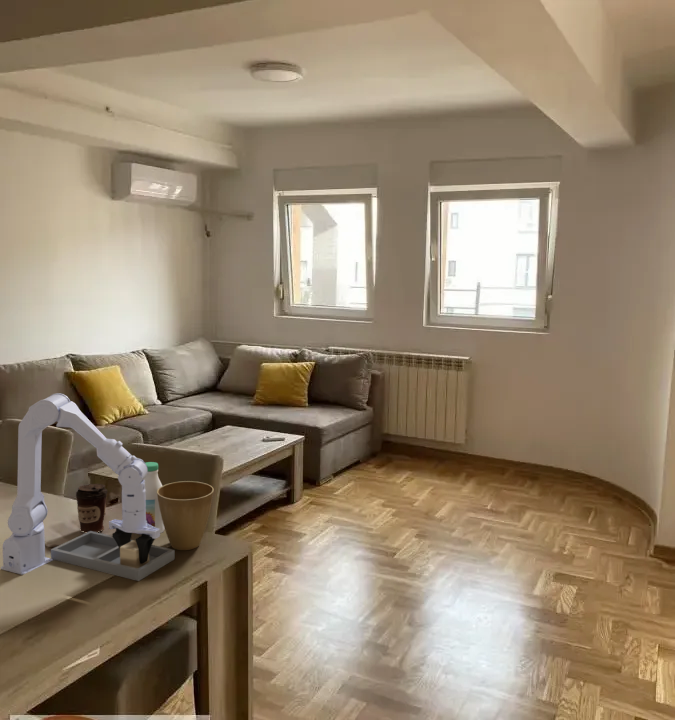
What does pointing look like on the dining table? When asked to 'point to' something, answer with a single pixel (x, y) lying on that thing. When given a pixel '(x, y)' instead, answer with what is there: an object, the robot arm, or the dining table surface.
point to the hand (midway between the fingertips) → (134, 560)
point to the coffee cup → (91, 507)
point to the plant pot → (185, 512)
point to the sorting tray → (108, 556)
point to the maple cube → (131, 555)
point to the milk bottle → (153, 497)
